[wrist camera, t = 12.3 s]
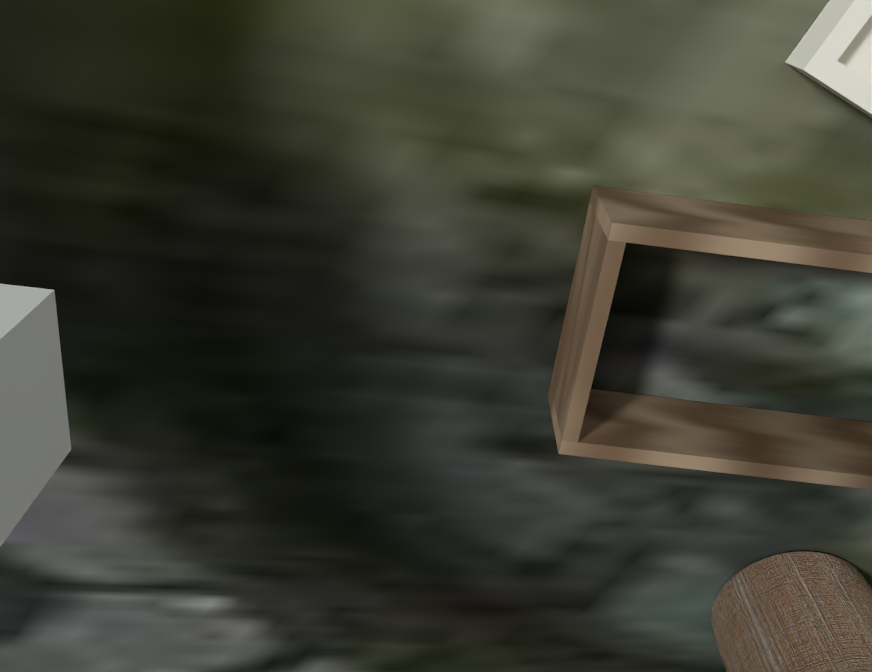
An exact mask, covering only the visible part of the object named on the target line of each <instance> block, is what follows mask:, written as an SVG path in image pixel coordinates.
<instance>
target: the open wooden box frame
mask: <svg viewBox="0 0 872 672" xmlns="http://www.w3.org/2000/svg"><path fill="white" fill-rule="evenodd" d="M626 243H635V244H643V245H651V246H659V247H667V248H675V249H683V250H691V251H699V252H707V253H715V254H723V255H731V256H739V257H747V258H755V259H763V260H771V261H779V262H787V263H795V264H804V265H812V266H820V267H828V268H836V269H844V270H852V271H860V272H868V273H872V221H865V220H858V219H850V218H842V217H834V216H826V215H818V214H810V213H802V212H794V211H786V210H778V209H771V208H763V207H755V206H747V205H739V204H731V203H723V202H715V201H707V200H699V199H691V198H684V197H676V196H668V195H660V194H652V193H644V192H636V191H628V190H620V189H612V188H605V187H597V186H593V188H592V193H591V197H590V202H589V207H588V211H587V216H586V221H585V225H584V230H583V234H582V239H581V244H580V248H579V253H578V258H577V262H576V267H575V272H574V276H573V281H572V286H571V290H570V295H569V300H568V304H567V309H566V313H565V318H564V323H563V327H562V332H561V337H560V341H559V346H558V351H557V355H556V360H555V365H554V369H553V374H552V379H551V383H550V388H549V393H548V401H549V406H550V411H551V416H552V422H553V427H554V432H555V437H556V442H557V448H558V453H559V454H565V455H573V456H582V457H591V458H599V459H608V460H617V461H625V462H634V463H643V464H652V465H660V466H669V467H678V468H686V469H695V470H704V471H712V472H721V473H730V474H739V475H747V476H756V477H765V478H773V479H782V480H791V481H800V482H808V483H817V484H826V485H834V486H843V487H852V488H860V489H869V490H872V422H868V421H859V420H851V419H842V418H834V417H825V416H817V415H808V414H800V413H791V412H783V411H774V410H766V409H757V408H749V407H740V406H732V405H723V404H715V403H706V402H698V401H689V400H681V399H672V398H664V397H656V396H647V395H639V394H630V393H622V392H613V391H605V390H596V389H591V386H592V382H593V378H594V374H595V369H596V365H597V361H598V357H599V353H600V349H601V345H602V341H603V336H604V332H605V328H606V324H607V320H608V316H609V312H610V308H611V303H612V299H613V295H614V291H615V287H616V283H617V279H618V274H619V270H620V266H621V262H622V258H623V254H624V250H625V246H626Z"/></svg>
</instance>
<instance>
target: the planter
mask: <svg viewBox="0 0 872 672" xmlns="http://www.w3.org/2000/svg"><path fill="white" fill-rule="evenodd" d="M711 625H712V629H713V633H714V636H715V640H716V643H717V647H718V649H719V652H720V655H721V658H722V661H723V663H724V666H725V669H726V672H872V588H871V587H870V585H869V584H868V583H867V581H866V580H865V578H864V577H863V576H862V574H861V573H860V572H859V571H858V570H857V569H856V568H855V567H854V566H852V565H851V564H849V563H848V562H846V561H844V560H842V559H840V558H838V557H835V556H832V555H828V554H824V553H819V552H789V553H783V554H778V555H774V556H771V557H768V558H765V559H762V560H760V561H758V562H755V563H753V564H751V565H749V566H748V567H746V568H744V569H743V570H741V571H740V572H738V573H737V574H736V575H735V576H733V577H732V578H731V579H730V580H729V581H728V582H727V583H726V584H725V585H724V587H723V588H722V589H721V591H720V592H719V594H718V595H717V597H716V599H715V601H714V604H713V608H712V612H711Z"/></svg>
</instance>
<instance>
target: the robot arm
mask: <svg viewBox="0 0 872 672" xmlns="http://www.w3.org/2000/svg"><path fill="white" fill-rule="evenodd" d="M70 450H71V443H70V433H69V424H68V414H67V405H66V395H65V386H64V376H63V367H62V357H61V348H60V338H59V329H58V319H57V310H56V300H55V291H54V290H52V289H43V288H34V287H25V286H16V285H7V284H0V547H1V545H2V544H3V542H4V541H5V540H6V538H7V537H8V536H9V534H10V533H11V531H12V530H13V529H14V527H15V526H16V525H17V523H18V522H19V520H20V519H21V518H22V516H23V515H24V514H25V512H26V511H27V509H28V508H29V507H30V505H31V504H32V503H33V501H34V500H35V498H36V497H37V496H38V494H39V493H40V492H41V490H42V489H43V487H44V486H45V485H46V483H47V482H48V481H49V479H50V478H51V476H52V475H53V474H54V472H55V471H56V469H57V468H58V467H59V465H60V464H61V463H62V461H63V460H64V458H65V457H66V456H67V454H68V453H69V452H70Z"/></svg>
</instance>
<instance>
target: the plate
mask: <svg viewBox="0 0 872 672" xmlns="http://www.w3.org/2000/svg"><path fill="white" fill-rule="evenodd" d="M785 63H787V64H788V65H790V66H791V67H793V68H795V69H796V70H798V71H799V72H801V73H802V74H804V75H805V76H807V77H809V78H810V79H812V80H813V81H815V82H816V83H818V84H819V85H821V86H822V87H824V88H826V89H827V90H829V91H830V92H832V93H833V94H835V95H836V96H838V97H840V98H841V99H843V100H844V101H846V102H847V103H849V104H850V105H852V106H853V107H855V108H857V109H858V110H860V111H861V112H863V113H864V114H866V115H867V116H869V117H871V118H872V0H830V1H829V2H828V3H827V5H826V6H825V7H824V9H823V10H822V12H821V13H820V14H819V16H818V17H817V19H816V20H815V21H814V23H813V24H812V26H811V27H810V28H809V30H808V31H807V32H806V34H805V35H804V37H803V38H802V39H801V41H800V42H799V44H798V45H797V46H796V48H795V49H794V50H793V52H792V53H791V55H790V56H789V57H788V59H787V60H786V62H785Z"/></svg>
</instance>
